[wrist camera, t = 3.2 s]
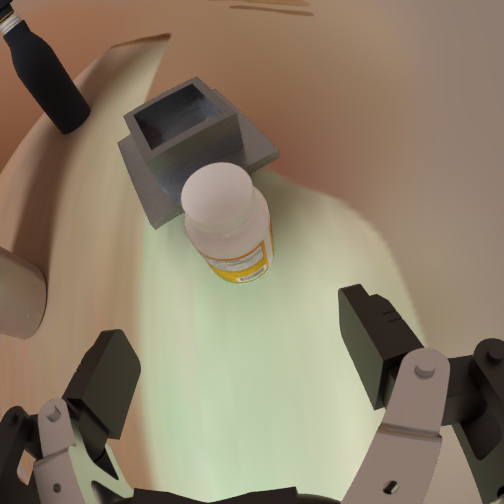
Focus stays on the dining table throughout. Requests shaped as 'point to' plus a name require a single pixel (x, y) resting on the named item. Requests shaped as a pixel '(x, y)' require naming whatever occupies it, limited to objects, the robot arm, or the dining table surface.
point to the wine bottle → (43, 73)
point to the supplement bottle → (228, 222)
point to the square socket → (186, 144)
